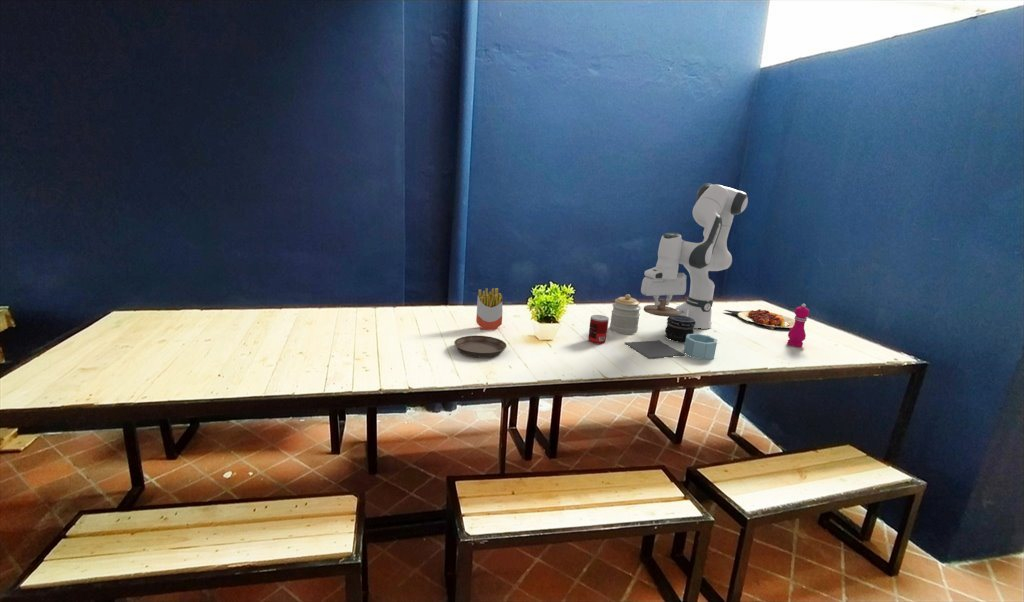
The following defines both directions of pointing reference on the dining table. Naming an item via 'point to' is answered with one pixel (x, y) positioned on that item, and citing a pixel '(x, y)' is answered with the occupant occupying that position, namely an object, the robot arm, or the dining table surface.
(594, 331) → the canned food
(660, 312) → the lid
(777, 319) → the plate of food
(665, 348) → the mat
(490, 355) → the plant saucer
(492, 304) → the french fries container
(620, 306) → the jar
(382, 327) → the dining table surface
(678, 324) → the container
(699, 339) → the bowl
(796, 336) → the pepper mill
